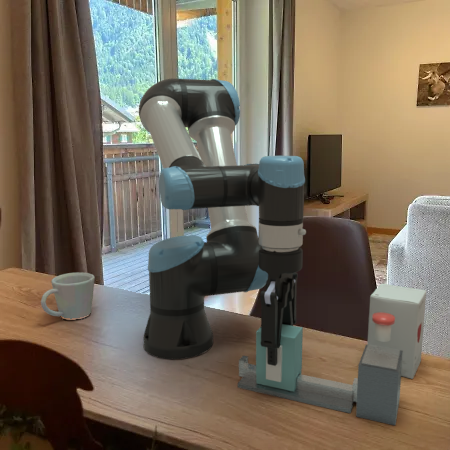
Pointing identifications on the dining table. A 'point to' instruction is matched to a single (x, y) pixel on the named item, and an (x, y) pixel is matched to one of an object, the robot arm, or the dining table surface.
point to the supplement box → (400, 322)
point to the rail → (304, 389)
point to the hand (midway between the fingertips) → (279, 371)
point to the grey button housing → (379, 384)
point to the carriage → (290, 358)
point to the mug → (71, 295)
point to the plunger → (383, 326)
